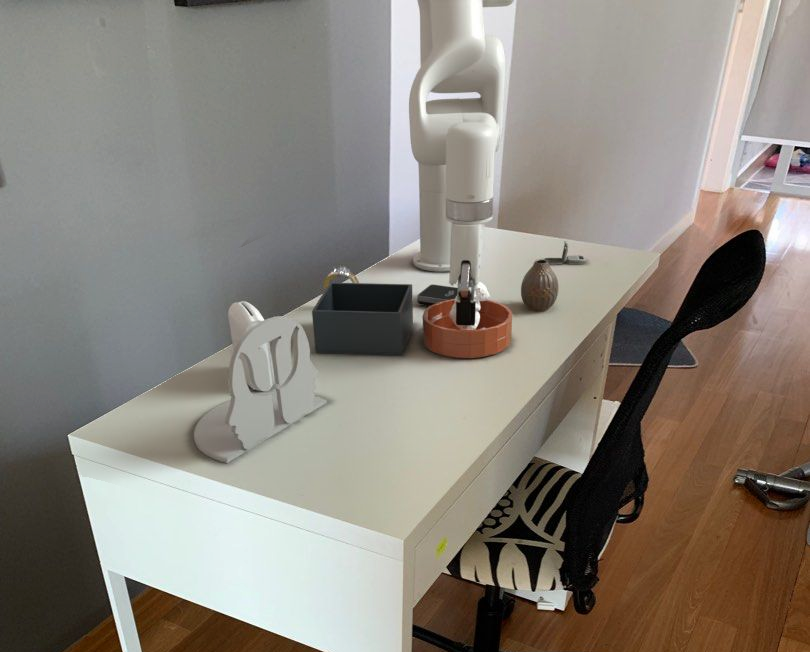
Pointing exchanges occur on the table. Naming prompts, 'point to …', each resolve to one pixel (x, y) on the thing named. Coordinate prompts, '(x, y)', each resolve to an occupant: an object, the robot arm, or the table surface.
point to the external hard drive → (436, 294)
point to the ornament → (264, 412)
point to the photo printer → (240, 323)
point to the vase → (539, 287)
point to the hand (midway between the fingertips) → (467, 315)
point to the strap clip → (570, 259)
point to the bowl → (467, 331)
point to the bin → (363, 319)
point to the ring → (340, 272)
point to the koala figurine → (479, 295)
